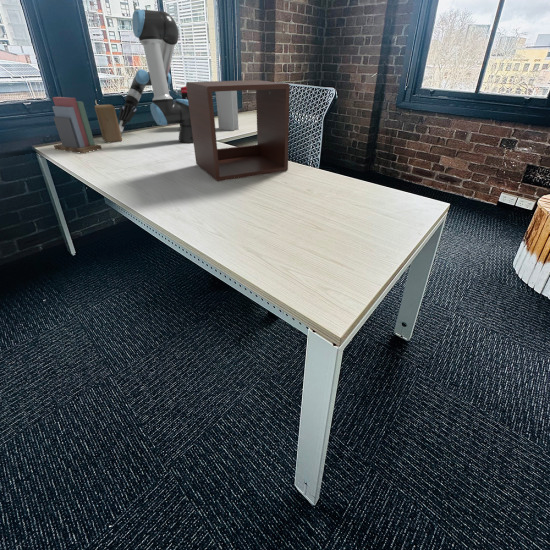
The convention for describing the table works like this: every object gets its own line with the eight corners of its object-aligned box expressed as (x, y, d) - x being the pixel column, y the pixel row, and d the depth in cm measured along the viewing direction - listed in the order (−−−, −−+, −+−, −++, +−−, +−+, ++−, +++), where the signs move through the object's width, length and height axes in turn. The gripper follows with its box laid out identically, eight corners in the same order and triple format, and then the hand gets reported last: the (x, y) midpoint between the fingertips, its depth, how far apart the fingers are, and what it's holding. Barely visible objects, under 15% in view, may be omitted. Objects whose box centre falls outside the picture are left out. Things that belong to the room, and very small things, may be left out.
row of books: (95, 144, 190) (81, 97, 177) (79, 148, 183) (63, 99, 169) (77, 142, 196) (62, 96, 183) (61, 145, 188) (44, 98, 175)
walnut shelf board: (101, 148, 190) (100, 145, 189) (83, 153, 181) (82, 149, 180) (73, 145, 199) (72, 141, 198) (54, 149, 190) (53, 145, 189)
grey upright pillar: (238, 129, 241) (236, 82, 225) (234, 130, 237) (231, 82, 221) (223, 127, 248) (220, 81, 231) (218, 129, 244) (214, 81, 227)
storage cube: (216, 181, 140) (206, 86, 121) (196, 165, 161) (185, 82, 142) (287, 170, 153) (289, 83, 134) (260, 156, 175) (259, 80, 156)
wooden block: (105, 143, 203) (96, 106, 192) (103, 140, 210) (93, 105, 199) (122, 141, 207) (114, 105, 196) (119, 138, 214) (111, 104, 203)
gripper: (144, 103, 216) (131, 135, 213) (129, 102, 221) (116, 133, 218) (136, 94, 209) (122, 127, 206) (121, 94, 214) (107, 126, 211)
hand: (119, 130), depth 212 cm, fingers closed
